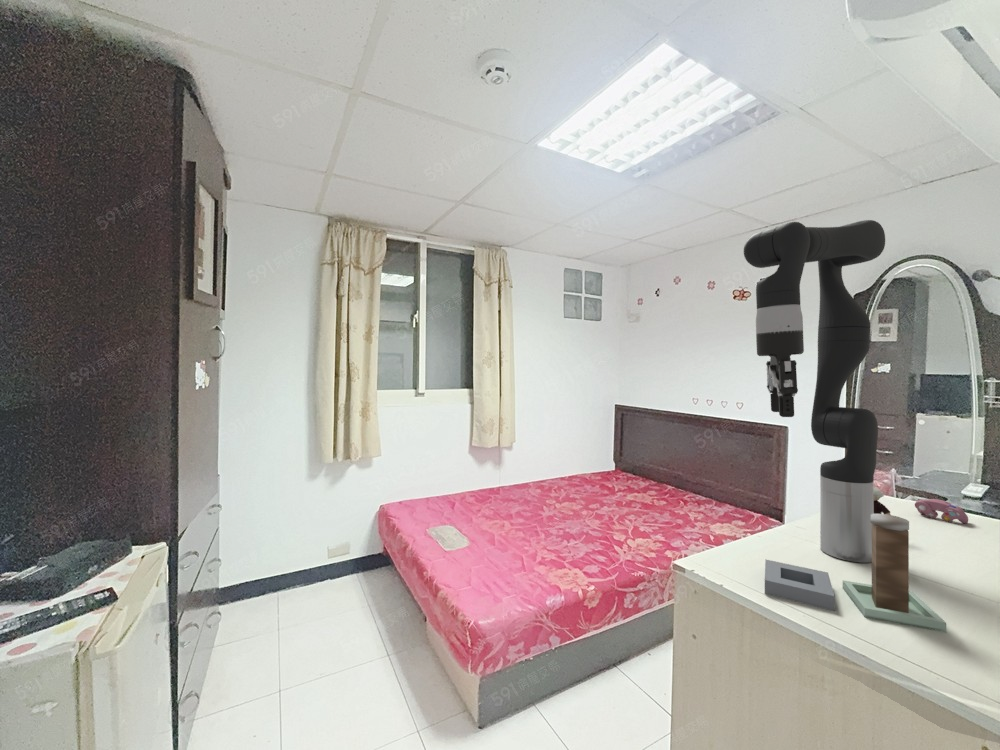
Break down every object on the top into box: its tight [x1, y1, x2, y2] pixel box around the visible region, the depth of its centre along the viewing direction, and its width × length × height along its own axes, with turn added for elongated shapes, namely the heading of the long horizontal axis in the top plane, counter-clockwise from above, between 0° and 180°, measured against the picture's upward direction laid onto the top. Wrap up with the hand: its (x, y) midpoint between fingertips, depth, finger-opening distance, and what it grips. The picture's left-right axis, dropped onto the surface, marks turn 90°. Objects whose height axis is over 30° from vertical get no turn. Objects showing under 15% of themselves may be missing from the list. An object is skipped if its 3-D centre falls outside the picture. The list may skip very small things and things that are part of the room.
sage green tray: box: [842, 579, 947, 633], centre depth 70 cm, size 10×10×2 cm
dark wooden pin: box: [871, 513, 910, 613], centre depth 70 cm, size 5×5×15 cm
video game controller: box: [914, 497, 969, 524], centre depth 114 cm, size 10×5×7 cm, turn 26°
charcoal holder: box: [764, 558, 836, 612], centre depth 76 cm, size 10×10×3 cm
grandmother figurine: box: [873, 485, 892, 515], centre depth 102 cm, size 8×4×13 cm, turn 21°
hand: (782, 414), depth 79 cm, fingers open, 8 cm apart
